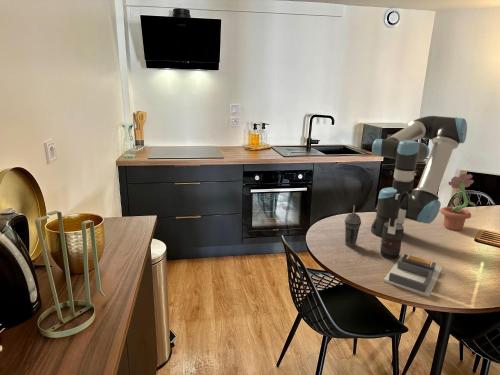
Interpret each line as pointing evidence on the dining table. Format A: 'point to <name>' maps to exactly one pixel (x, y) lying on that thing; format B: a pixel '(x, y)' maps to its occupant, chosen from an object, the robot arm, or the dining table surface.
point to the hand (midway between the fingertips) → (395, 228)
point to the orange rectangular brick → (419, 260)
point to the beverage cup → (351, 228)
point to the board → (413, 275)
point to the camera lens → (391, 242)
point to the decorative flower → (457, 215)
